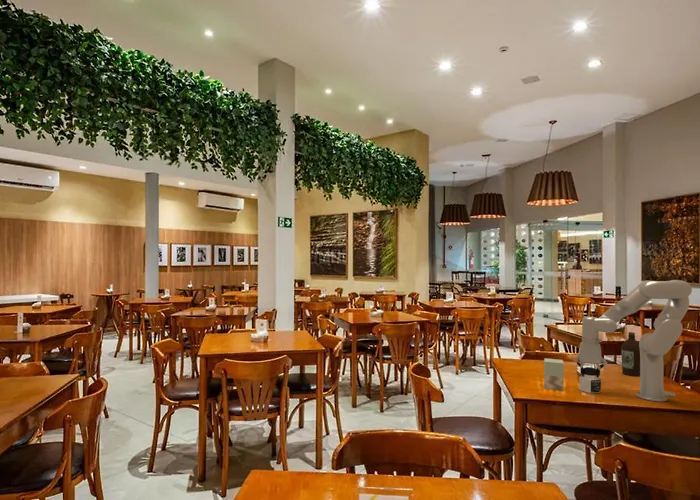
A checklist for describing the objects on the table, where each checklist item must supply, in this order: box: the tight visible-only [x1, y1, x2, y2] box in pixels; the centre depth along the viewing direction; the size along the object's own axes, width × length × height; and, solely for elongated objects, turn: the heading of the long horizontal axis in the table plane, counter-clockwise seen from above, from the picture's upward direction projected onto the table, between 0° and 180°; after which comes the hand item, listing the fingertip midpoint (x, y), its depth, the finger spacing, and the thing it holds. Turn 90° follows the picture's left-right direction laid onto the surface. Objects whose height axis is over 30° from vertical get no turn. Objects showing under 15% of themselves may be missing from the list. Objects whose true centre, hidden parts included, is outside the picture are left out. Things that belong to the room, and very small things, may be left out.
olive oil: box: [620, 331, 640, 377], centre depth 269 cm, size 11×11×25 cm
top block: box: [543, 358, 565, 377], centre depth 238 cm, size 9×9×7 cm
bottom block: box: [543, 374, 565, 392], centre depth 237 cm, size 9×9×7 cm
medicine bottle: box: [578, 366, 602, 395], centre depth 231 cm, size 7×7×12 cm
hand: (590, 375), depth 231 cm, fingers closed on medicine bottle, 6 cm apart
